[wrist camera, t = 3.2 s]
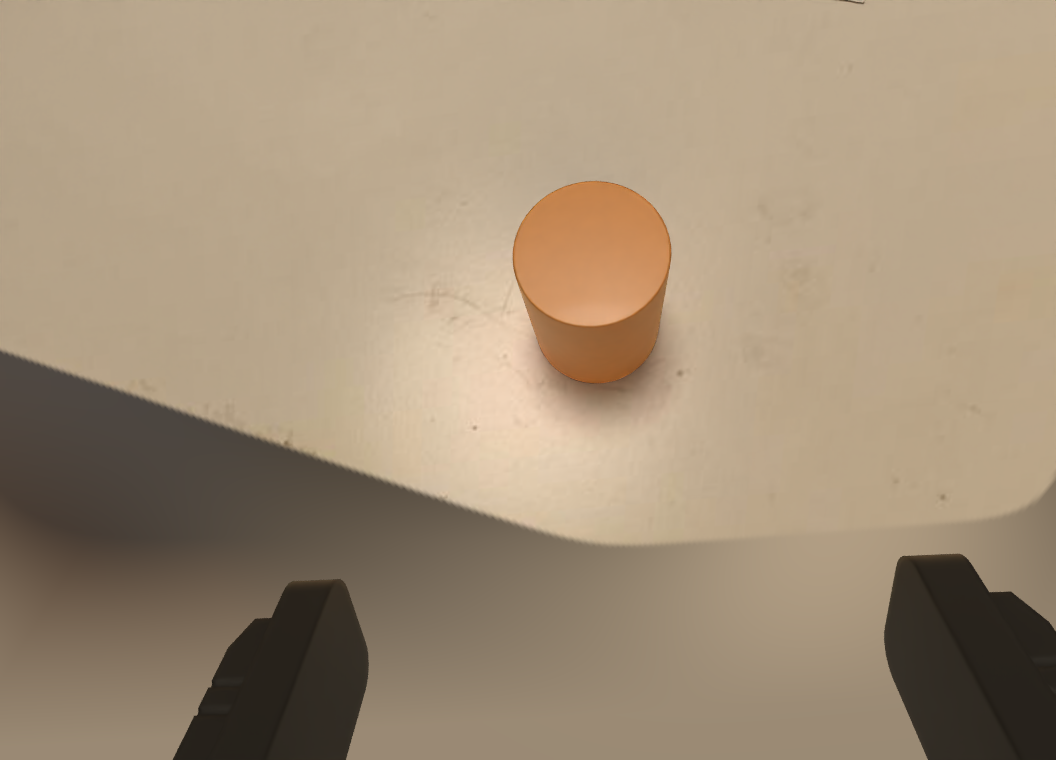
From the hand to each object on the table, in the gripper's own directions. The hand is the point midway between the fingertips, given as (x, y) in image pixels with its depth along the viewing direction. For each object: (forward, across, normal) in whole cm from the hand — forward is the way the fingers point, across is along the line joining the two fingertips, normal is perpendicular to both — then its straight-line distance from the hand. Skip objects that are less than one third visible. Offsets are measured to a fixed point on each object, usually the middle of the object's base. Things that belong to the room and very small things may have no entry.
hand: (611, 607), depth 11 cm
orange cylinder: (+20, 0, +6) cm, 21 cm away
